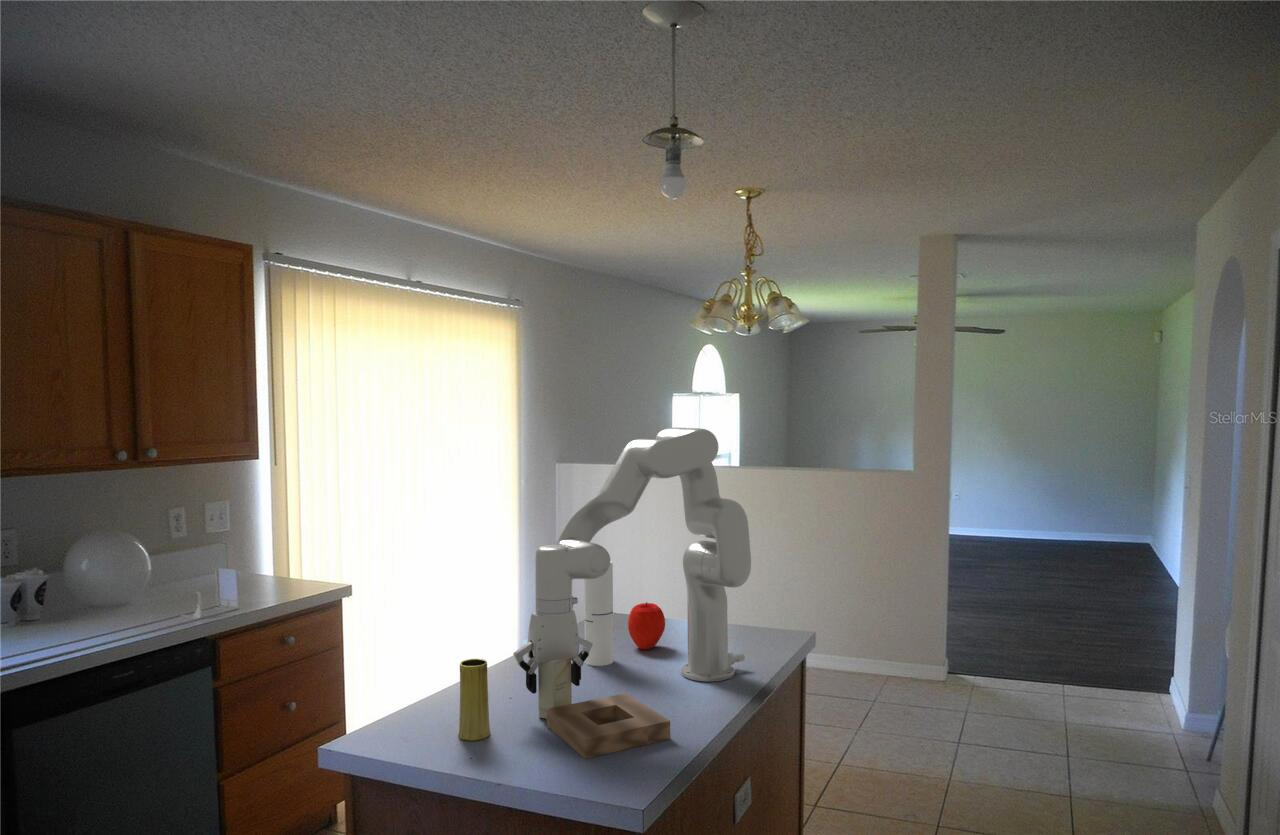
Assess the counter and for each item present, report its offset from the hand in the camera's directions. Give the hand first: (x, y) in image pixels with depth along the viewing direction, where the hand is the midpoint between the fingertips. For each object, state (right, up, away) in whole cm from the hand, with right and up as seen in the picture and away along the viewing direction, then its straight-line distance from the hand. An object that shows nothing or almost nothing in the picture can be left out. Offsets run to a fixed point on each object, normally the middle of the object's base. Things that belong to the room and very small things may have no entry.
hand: (553, 687), depth 175 cm
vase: (-14, -6, -10) cm, 19 cm away
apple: (+20, -5, +48) cm, 52 cm away
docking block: (+12, -6, -10) cm, 16 cm away
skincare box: (0, -6, 0) cm, 6 cm away
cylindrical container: (+8, -5, +36) cm, 38 cm away
